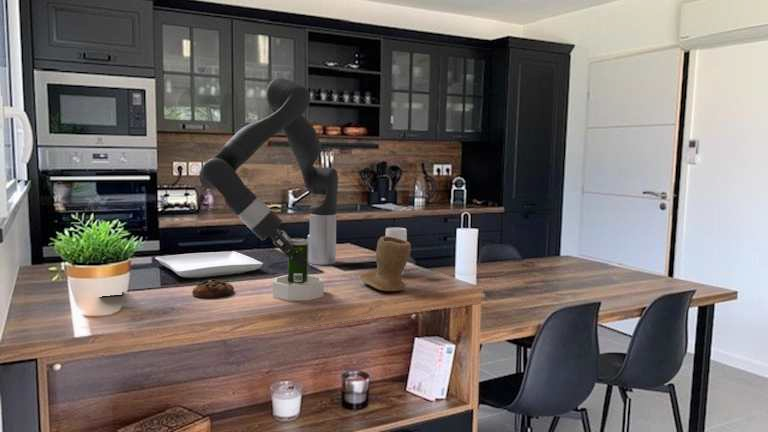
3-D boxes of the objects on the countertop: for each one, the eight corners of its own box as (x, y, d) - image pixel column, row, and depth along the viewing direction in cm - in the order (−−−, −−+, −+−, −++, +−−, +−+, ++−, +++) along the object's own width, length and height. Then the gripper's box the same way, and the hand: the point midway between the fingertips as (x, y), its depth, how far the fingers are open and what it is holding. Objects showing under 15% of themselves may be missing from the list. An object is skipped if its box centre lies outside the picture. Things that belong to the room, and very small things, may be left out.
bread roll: (214, 300, 148) (212, 281, 148) (183, 300, 153) (181, 282, 153) (243, 293, 158) (241, 275, 158) (213, 293, 163) (211, 276, 163)
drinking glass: (406, 273, 187) (407, 227, 185) (405, 277, 180) (406, 230, 179) (385, 272, 188) (386, 227, 186) (383, 276, 181) (384, 229, 179)
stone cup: (416, 292, 162) (418, 239, 160) (377, 295, 157) (379, 241, 156) (394, 281, 176) (395, 232, 174) (358, 283, 171) (358, 233, 169)
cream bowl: (262, 294, 155) (262, 280, 155) (297, 286, 166) (297, 272, 166) (298, 303, 147) (298, 287, 147) (333, 293, 158) (333, 279, 158)
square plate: (264, 274, 183) (264, 262, 183) (176, 283, 168) (176, 270, 168) (234, 259, 206) (234, 249, 205) (154, 267, 190) (154, 255, 190)
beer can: (309, 285, 155) (310, 241, 154) (289, 286, 153) (290, 241, 152) (305, 280, 160) (305, 238, 159) (285, 281, 158) (286, 238, 157)
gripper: (269, 211, 146) (316, 258, 149) (271, 206, 160) (313, 248, 163) (247, 232, 146) (295, 278, 149) (251, 225, 160) (294, 267, 163)
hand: (304, 262), depth 156 cm, fingers closed on beer can, 5 cm apart
